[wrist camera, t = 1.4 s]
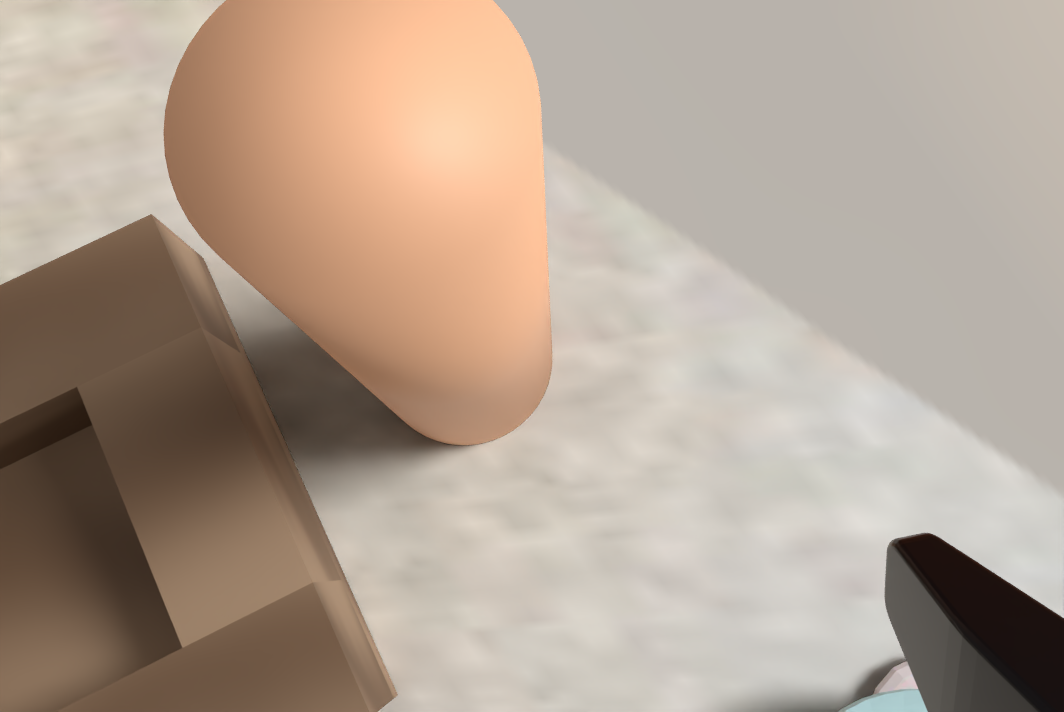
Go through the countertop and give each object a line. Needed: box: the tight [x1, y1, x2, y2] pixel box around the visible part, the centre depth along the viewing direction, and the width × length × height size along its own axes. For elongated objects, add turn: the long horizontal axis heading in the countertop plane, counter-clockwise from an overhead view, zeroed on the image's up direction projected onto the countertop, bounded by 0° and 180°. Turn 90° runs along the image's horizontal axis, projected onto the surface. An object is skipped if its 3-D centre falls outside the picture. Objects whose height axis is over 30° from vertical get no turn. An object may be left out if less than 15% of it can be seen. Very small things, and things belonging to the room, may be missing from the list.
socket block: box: [0, 214, 398, 712], centre depth 20 cm, size 11×11×3 cm
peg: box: [164, 0, 552, 445], centre depth 16 cm, size 4×4×12 cm
